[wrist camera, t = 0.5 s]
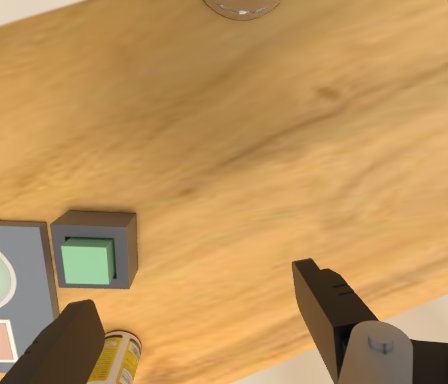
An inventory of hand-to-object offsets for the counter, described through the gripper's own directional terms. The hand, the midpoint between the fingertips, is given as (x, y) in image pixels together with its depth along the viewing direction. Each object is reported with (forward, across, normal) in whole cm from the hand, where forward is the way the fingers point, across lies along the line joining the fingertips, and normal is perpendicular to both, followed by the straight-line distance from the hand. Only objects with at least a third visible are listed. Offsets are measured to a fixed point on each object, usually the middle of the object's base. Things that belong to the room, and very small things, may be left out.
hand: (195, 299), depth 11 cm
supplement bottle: (+20, +15, +18) cm, 31 cm away
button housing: (+19, +12, +4) cm, 23 cm away
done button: (+16, +12, +4) cm, 21 cm away
